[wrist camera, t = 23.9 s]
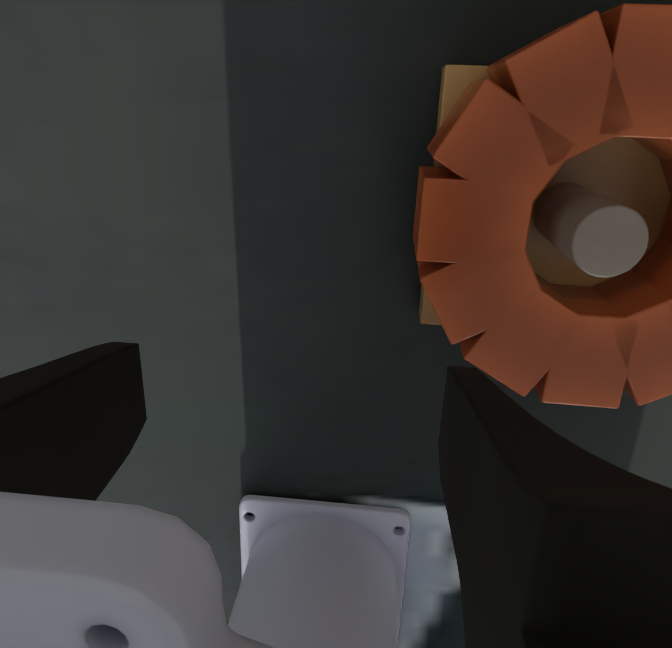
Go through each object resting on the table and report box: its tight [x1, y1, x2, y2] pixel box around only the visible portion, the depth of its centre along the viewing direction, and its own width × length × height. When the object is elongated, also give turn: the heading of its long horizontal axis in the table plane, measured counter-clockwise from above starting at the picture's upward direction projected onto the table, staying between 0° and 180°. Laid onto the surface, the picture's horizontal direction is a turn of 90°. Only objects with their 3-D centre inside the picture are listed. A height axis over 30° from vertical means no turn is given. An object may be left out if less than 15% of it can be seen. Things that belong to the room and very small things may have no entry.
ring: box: [413, 3, 672, 409], centre depth 18 cm, size 12×12×3 cm
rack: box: [419, 65, 671, 325], centre depth 18 cm, size 9×9×6 cm
